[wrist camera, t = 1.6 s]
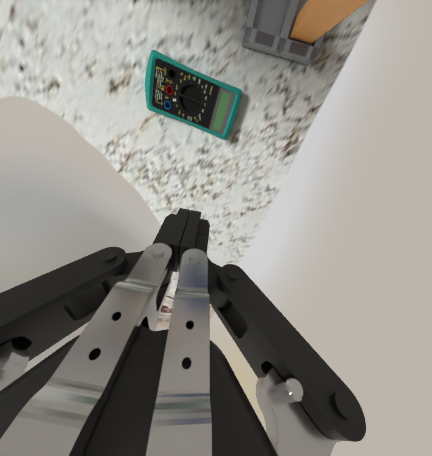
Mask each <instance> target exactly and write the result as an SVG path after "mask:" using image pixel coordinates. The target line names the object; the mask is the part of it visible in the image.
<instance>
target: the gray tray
mask: <svg viewBox="0 0 432 456" xmlns="http://www.w3.org/2000/svg"><path fill="white" fill-rule="evenodd" d="M307 1H308V0H251V3H250V8H249V13H248V18H247V23H246V28H245V33H244V37H243V42H242V46H244V47H248V48H251V49H254V50H258V51H261V52H265V53H268V54H271V55H275V56H278V57H282V58H285V59H289V60H292V61H295V62H299V63H302V64H306V65H308V64H310V63H312V62H313V61H315V59H316V56H317V54H318V51H319V49H320V46H321V44H322V41H323V39H324V36H325V34H326V33H325V34H323V35H322V36H321V37H319V38H318V39H317V40H315V41H314V42H313V43H311V44H307V43H304V42H301V41H297V40H294V39H291V38H290V35H291V32H292V28H293V25H294V22H295V19H296V16H297V14H298V13H299V11H300V10H301V9H302V7H303V6H304V5H305V4H306V2H307Z"/></svg>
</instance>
